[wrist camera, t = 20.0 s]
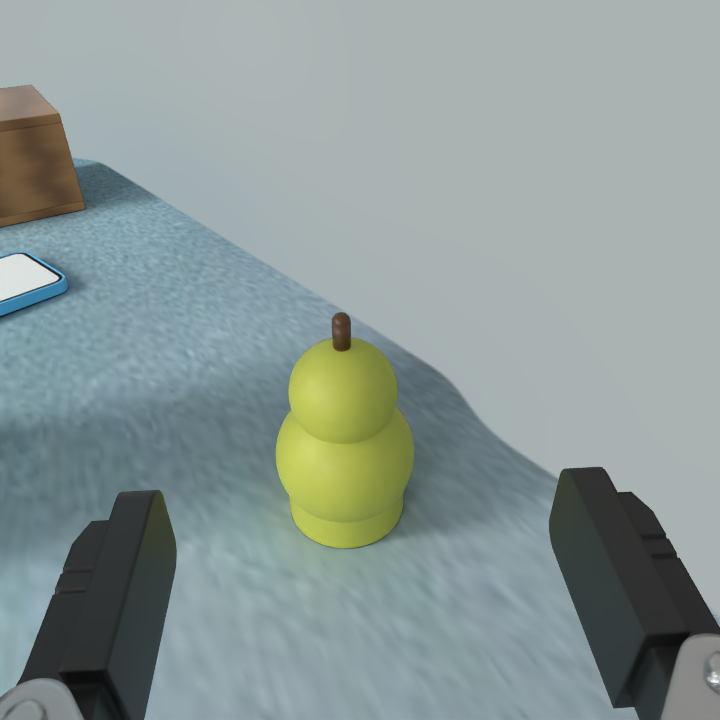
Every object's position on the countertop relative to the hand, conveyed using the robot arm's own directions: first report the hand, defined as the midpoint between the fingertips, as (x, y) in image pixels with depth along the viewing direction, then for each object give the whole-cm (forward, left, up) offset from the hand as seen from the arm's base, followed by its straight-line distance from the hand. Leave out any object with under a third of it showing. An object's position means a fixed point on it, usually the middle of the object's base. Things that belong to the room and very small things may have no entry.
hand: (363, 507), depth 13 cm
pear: (+5, +10, -12) cm, 17 cm away
